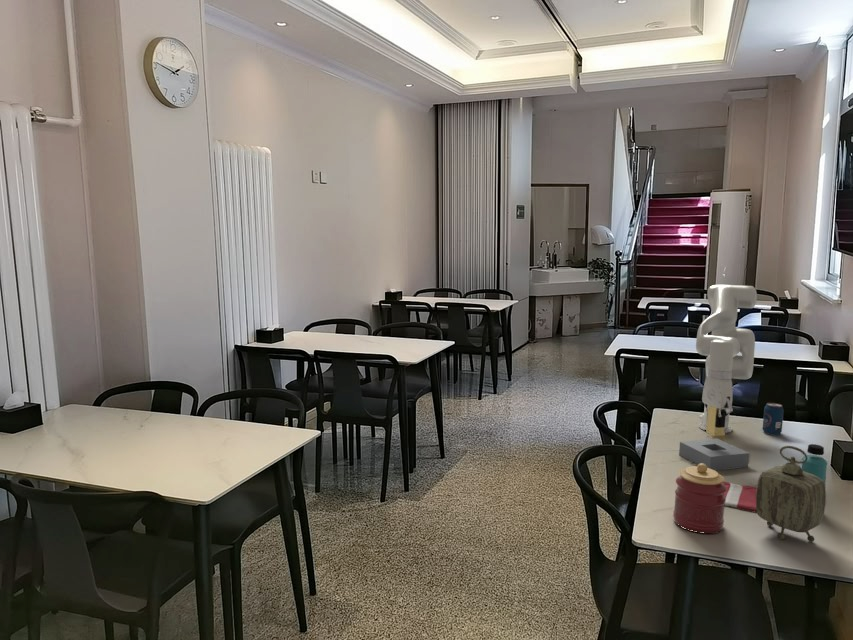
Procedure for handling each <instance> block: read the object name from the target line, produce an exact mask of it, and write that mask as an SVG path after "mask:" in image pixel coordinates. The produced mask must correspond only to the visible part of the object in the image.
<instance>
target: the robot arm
mask: <svg viewBox="0 0 853 640" xmlns="http://www.w3.org/2000/svg"><path fill="white" fill-rule="evenodd" d="M757 295H758V294H757V290H756V287H754V286H753V285H736V284H735V285H734V284H713V285H711V286H709V287H708V289H707V300H708V303H709V307H710V310H711V312H712V313H711V315H709V316H708V317H706V318H705V319H704V320H703V321H702V322H701V323H700V325H699V327H698V329H697V332H696V333H697V334H696V339H695V340H696V341H695V348H696V352H697V353H698V354H699V355H700V356H705V357H706V359H705V380H704V382H703V383H704V385H703V389H702V397H701V400H702V401H701V402H702V403H703V404H704V408H703V409H704V411H703V413H702V414H701V415H699V416H698V419H700V420H701V422H700V423H699V424H698V428H700V429H701V430H703V431H705V430H706V429H707V416H708V405H709V406H712V407H715V408H718V416H717V422H716V427H717V428H722V427H724V433H725V434H728V433H727V432H730V433H732V432H733V427H732V426H731V425H729V422H730V421H729V420H730V414H731V413H733V412H734V410H733V407H732V406H733V394H734V393H733V381H732V379H735V380H736V379H738V380H748V379H750V378H752V375H753V372H754V361H755V349H756V348H755V347H756V337H755V333H754V332H753V331H752V330H751V329H750V328H749V329H748V328H739V327H736V322H737V319H738V309H753V308H754V307H755V306H756V303H757V300H758V296H757ZM709 333H711V334H709ZM739 353H740V354H741V355H740V354H739ZM722 410H723V412H722ZM731 431H732V432H731Z"/></svg>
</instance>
